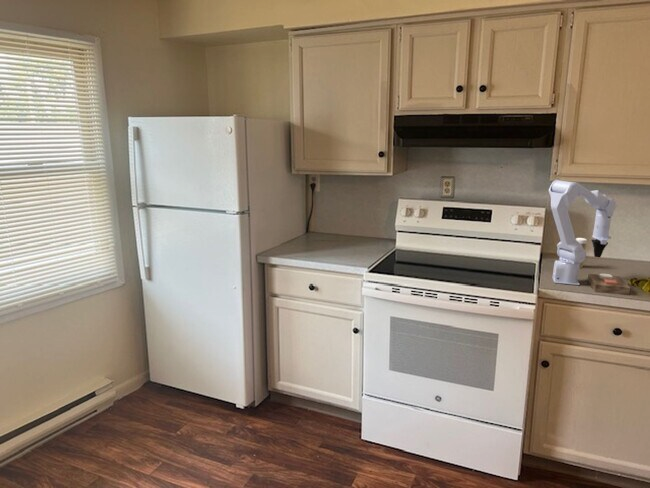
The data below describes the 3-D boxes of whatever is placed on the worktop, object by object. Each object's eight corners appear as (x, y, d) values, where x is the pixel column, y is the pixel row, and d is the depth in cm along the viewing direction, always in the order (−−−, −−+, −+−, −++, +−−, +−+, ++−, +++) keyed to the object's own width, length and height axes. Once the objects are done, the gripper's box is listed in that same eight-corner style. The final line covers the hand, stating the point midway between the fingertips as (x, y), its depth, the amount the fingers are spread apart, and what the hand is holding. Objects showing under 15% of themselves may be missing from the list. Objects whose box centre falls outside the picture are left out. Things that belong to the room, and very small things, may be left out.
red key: (605, 287, 193) (606, 281, 193) (602, 284, 197) (603, 278, 196) (616, 288, 192) (617, 282, 192) (614, 285, 196) (614, 279, 195)
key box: (594, 291, 193) (596, 284, 192) (587, 280, 206) (588, 273, 206) (629, 295, 189) (630, 287, 188) (619, 283, 203) (620, 276, 202)
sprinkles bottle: (573, 264, 229) (577, 237, 226) (584, 266, 226) (588, 238, 223) (570, 266, 226) (574, 238, 223) (581, 268, 223) (585, 240, 220)
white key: (601, 282, 200) (601, 276, 200) (598, 279, 204) (599, 273, 203) (611, 283, 199) (612, 277, 199) (609, 280, 203) (610, 274, 202)
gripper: (617, 230, 196) (611, 262, 200) (608, 223, 210) (603, 253, 213) (597, 228, 199) (592, 260, 202) (590, 222, 212) (586, 251, 215)
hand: (597, 256), depth 208 cm, fingers closed
